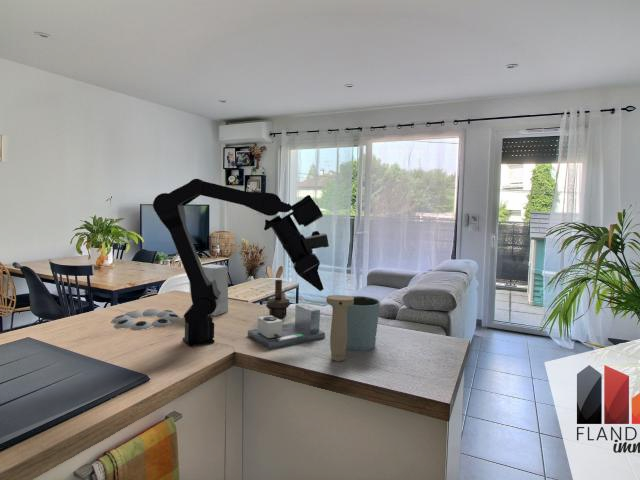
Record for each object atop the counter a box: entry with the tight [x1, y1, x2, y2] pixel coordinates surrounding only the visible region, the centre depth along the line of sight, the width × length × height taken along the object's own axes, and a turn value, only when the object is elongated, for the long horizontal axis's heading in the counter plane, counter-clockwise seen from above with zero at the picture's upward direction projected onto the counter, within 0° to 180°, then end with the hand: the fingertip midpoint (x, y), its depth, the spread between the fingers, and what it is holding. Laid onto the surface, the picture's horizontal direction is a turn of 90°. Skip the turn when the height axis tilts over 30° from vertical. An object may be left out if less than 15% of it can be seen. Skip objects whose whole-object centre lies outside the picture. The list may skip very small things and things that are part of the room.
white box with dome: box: [257, 315, 284, 338], centre depth 104 cm, size 6×8×4 cm, turn 36°
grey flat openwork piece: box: [110, 308, 182, 331], centre depth 119 cm, size 20×20×2 cm
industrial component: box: [265, 279, 291, 319], centre depth 127 cm, size 9×7×12 cm
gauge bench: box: [247, 303, 326, 350], centre depth 108 cm, size 18×12×8 cm
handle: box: [326, 294, 354, 363], centre depth 93 cm, size 5×6×15 cm
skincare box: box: [202, 263, 229, 317], centre depth 129 cm, size 8×7×16 cm
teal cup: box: [346, 295, 381, 351], centre depth 103 cm, size 10×10×12 cm
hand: (319, 286), depth 105 cm, fingers open, 9 cm apart
